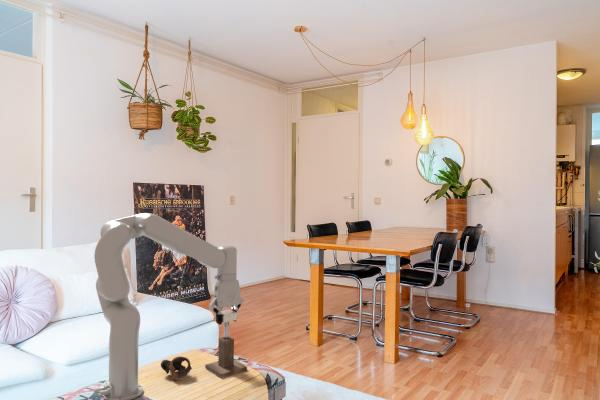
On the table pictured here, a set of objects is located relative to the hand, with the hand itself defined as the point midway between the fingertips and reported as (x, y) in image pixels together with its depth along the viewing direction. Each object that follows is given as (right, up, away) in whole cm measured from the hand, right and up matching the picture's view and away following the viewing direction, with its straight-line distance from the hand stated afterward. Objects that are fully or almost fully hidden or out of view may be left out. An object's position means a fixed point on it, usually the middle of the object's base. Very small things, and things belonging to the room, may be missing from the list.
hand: (226, 321), depth 175 cm
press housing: (0, -19, 0) cm, 19 cm away
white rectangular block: (0, -11, 0) cm, 11 cm away
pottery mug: (-18, -19, -7) cm, 27 cm away
